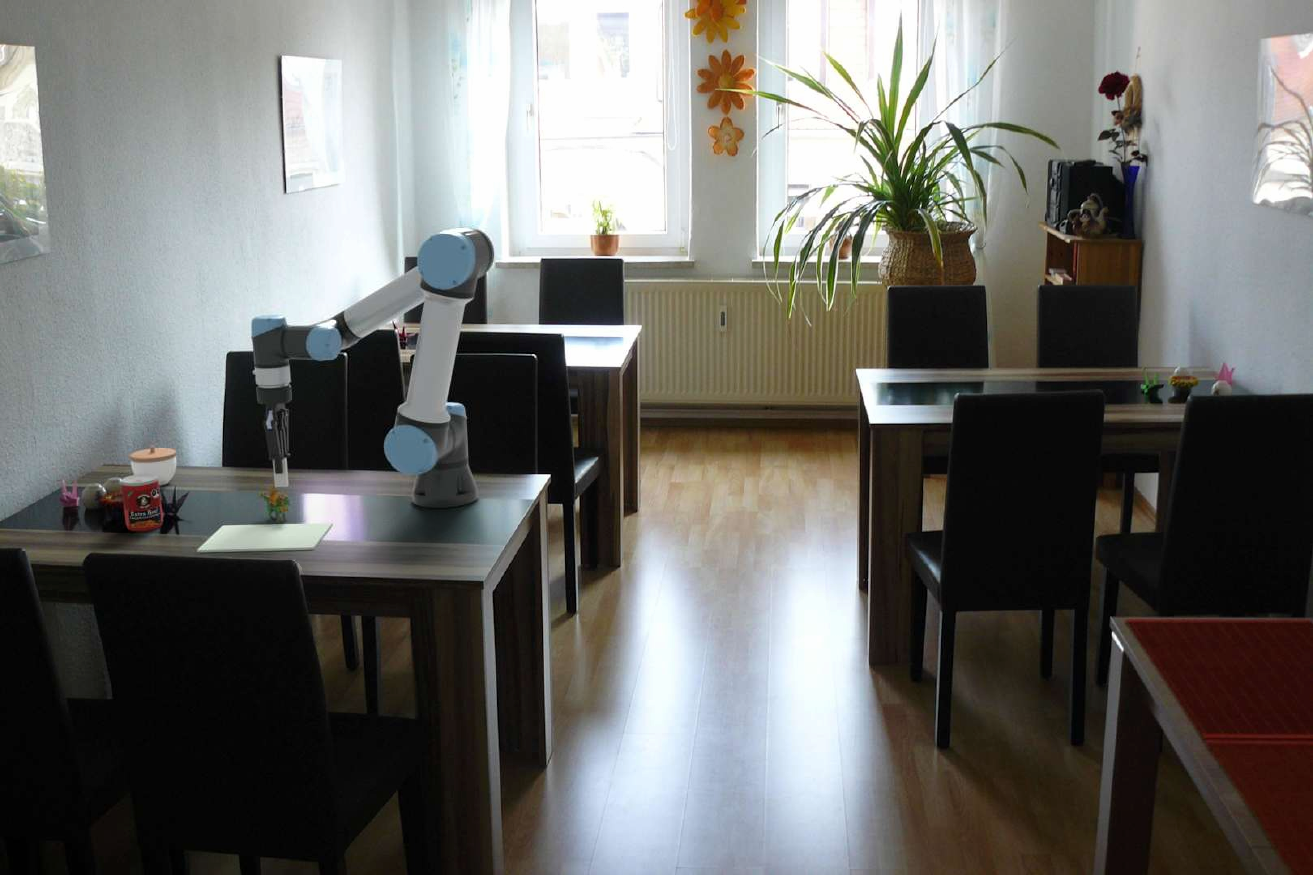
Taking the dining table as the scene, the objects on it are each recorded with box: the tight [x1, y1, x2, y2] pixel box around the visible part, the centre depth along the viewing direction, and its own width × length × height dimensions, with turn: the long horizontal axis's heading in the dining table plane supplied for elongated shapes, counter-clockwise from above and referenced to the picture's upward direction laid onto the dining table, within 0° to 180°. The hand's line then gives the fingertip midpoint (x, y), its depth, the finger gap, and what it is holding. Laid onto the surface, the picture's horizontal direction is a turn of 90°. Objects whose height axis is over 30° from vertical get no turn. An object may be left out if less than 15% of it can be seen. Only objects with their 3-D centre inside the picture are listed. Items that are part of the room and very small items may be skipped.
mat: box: [196, 522, 334, 553], centre depth 273 cm, size 24×17×1 cm
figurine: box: [258, 483, 292, 524], centre depth 286 cm, size 3×12×8 cm, turn 50°
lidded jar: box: [129, 445, 177, 487], centre depth 318 cm, size 11×11×9 cm
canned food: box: [120, 474, 164, 532], centre depth 282 cm, size 8×8×11 cm
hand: (281, 485), depth 293 cm, fingers closed
